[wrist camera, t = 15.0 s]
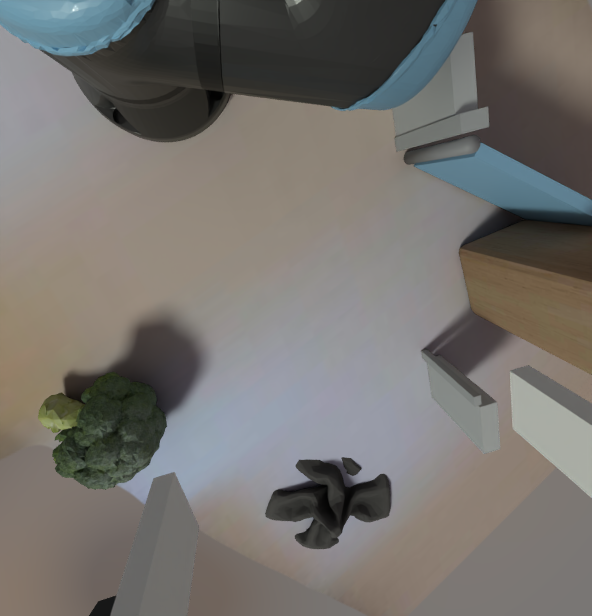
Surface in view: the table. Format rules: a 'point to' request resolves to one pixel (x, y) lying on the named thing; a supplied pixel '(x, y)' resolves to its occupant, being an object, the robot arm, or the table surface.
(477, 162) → the door
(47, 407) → the vegetable
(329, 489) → the cloth
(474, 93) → the wall frame
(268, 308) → the table surface
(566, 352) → the wooden block
